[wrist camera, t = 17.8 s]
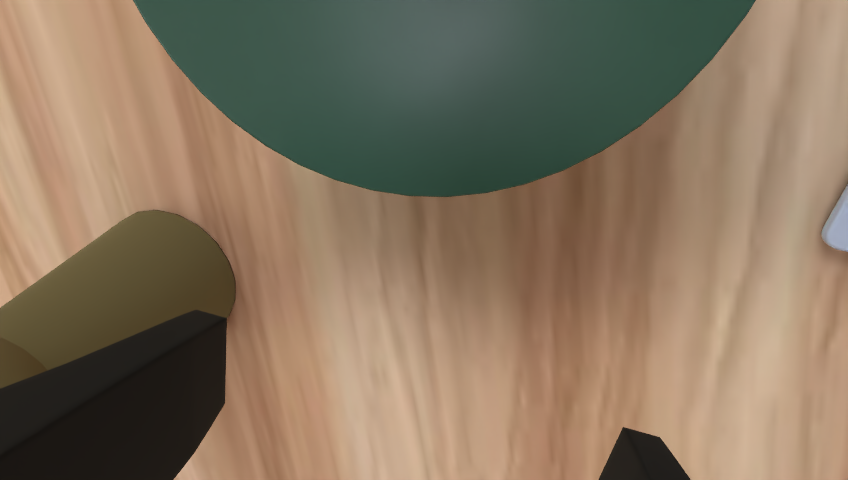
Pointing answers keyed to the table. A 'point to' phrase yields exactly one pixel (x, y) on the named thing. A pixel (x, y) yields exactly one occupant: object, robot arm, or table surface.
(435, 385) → the table surface
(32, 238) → the table surface
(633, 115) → the lid
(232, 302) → the olive game pawn
